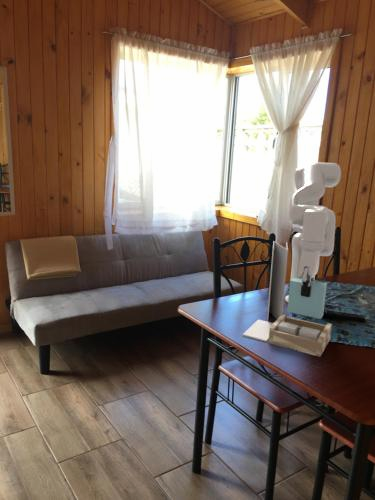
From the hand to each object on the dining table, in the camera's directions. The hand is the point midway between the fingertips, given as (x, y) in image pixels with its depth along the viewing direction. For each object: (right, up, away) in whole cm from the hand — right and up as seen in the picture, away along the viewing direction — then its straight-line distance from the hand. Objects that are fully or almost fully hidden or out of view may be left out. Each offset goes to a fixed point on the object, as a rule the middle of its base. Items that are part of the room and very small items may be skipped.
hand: (307, 293), depth 148 cm
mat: (-15, -15, +8) cm, 22 cm away
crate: (-3, -17, 0) cm, 17 cm away
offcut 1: (-7, -17, -1) cm, 19 cm away
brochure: (-7, -12, +22) cm, 26 cm away
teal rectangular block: (0, -7, +2) cm, 8 cm away
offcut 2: (-1, -18, -4) cm, 19 cm away
